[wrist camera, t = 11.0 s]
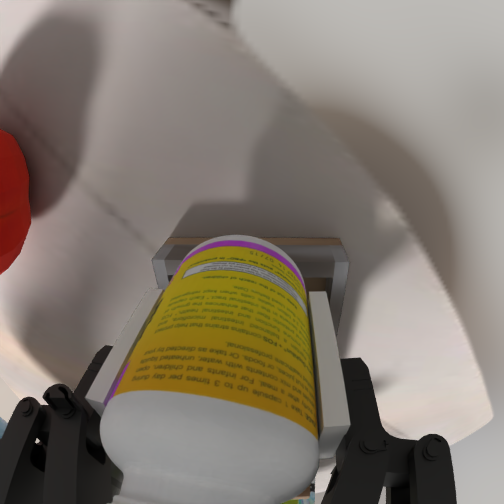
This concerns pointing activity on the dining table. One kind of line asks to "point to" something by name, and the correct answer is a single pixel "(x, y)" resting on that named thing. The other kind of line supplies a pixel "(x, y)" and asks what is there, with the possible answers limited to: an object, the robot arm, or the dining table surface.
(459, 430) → the dining table surface
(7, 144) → the tomato
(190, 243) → the lane
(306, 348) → the supplement bottle
